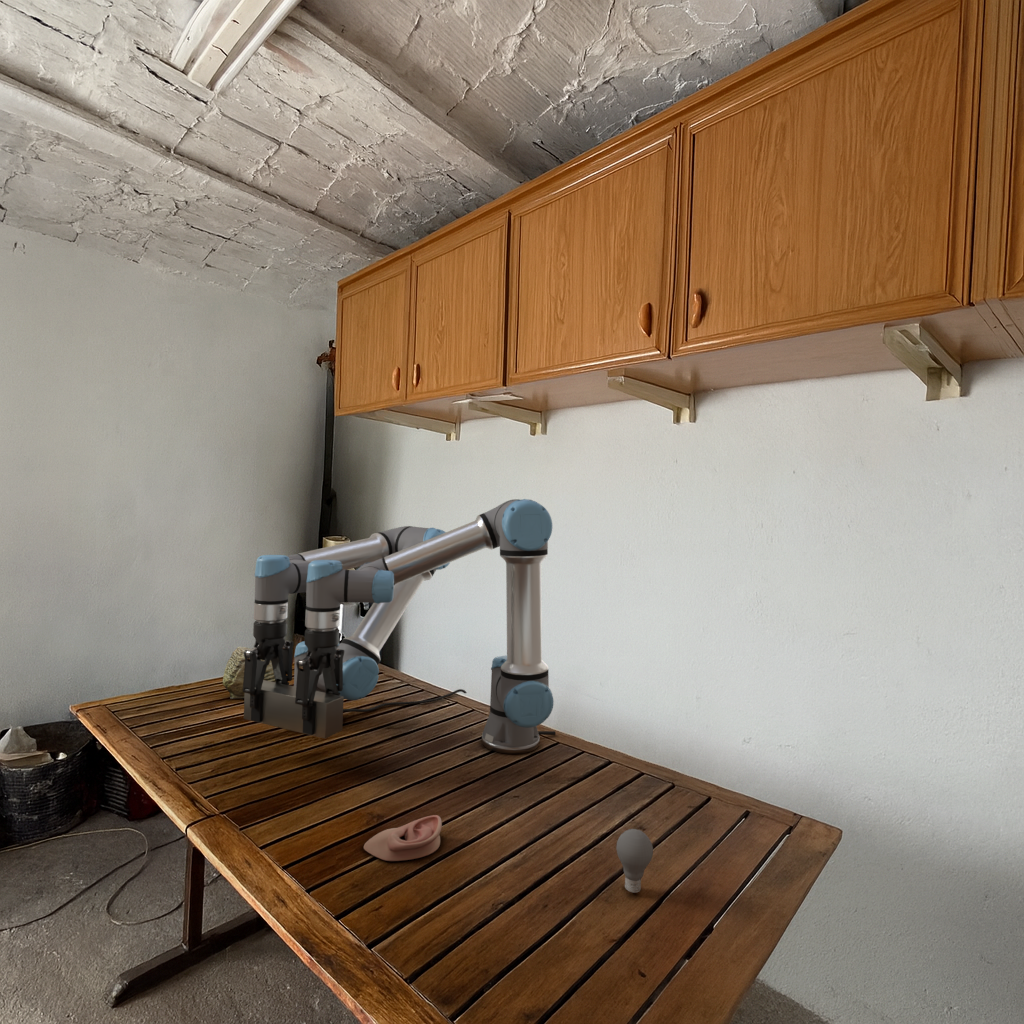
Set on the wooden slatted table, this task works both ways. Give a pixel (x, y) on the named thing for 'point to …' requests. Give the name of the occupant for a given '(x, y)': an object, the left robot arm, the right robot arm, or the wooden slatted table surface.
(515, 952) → the wooden slatted table surface
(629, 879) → the light bulb
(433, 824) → the anatomical model
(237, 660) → the fossil
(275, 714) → the bar
